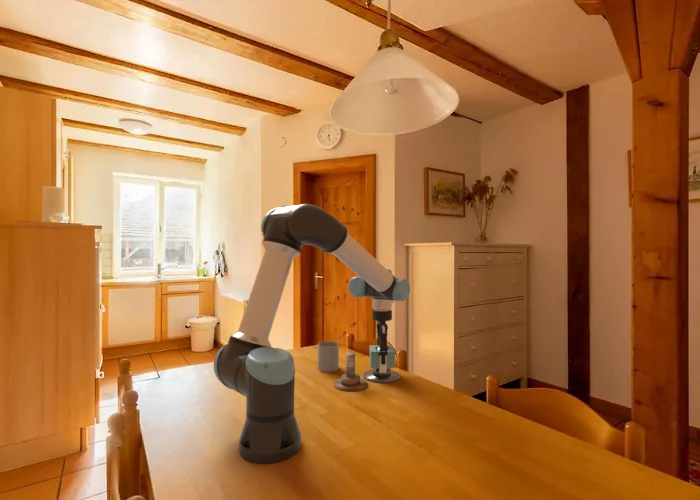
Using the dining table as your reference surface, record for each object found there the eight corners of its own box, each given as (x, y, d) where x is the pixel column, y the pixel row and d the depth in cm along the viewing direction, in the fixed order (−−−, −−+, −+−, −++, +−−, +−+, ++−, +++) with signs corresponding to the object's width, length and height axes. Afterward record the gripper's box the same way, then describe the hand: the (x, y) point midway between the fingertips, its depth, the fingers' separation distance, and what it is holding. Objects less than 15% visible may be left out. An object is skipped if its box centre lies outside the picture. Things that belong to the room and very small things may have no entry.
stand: (367, 391, 131) (368, 359, 131) (333, 391, 131) (333, 359, 131) (366, 379, 143) (366, 349, 143) (334, 378, 143) (334, 349, 143)
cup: (316, 366, 158) (316, 342, 157) (335, 364, 160) (335, 340, 160) (320, 372, 150) (320, 347, 149) (340, 370, 152) (340, 345, 152)
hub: (402, 383, 139) (402, 352, 139) (364, 382, 139) (364, 352, 139) (397, 370, 153) (397, 343, 153) (362, 370, 153) (362, 342, 153)
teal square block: (395, 367, 141) (395, 351, 141) (370, 367, 141) (370, 351, 141) (392, 360, 150) (392, 345, 150) (369, 360, 150) (369, 345, 150)
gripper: (395, 314, 135) (395, 378, 135) (389, 304, 156) (388, 359, 157) (374, 314, 135) (373, 378, 135) (370, 304, 156) (370, 359, 157)
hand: (381, 368), depth 146 cm, fingers closed on teal square block, 9 cm apart
